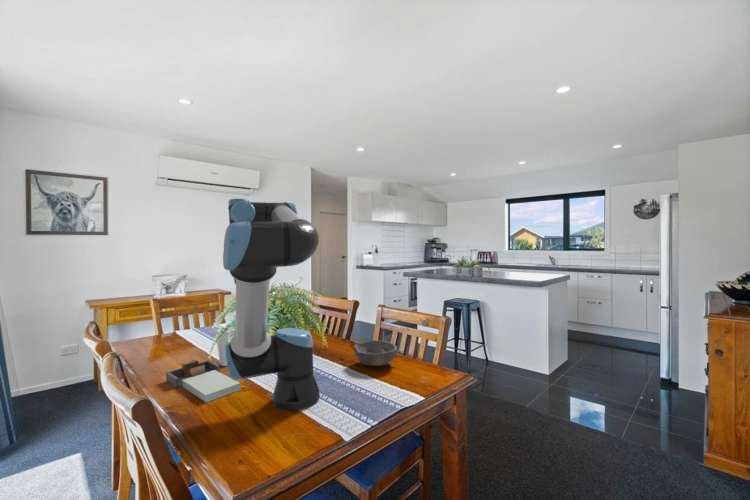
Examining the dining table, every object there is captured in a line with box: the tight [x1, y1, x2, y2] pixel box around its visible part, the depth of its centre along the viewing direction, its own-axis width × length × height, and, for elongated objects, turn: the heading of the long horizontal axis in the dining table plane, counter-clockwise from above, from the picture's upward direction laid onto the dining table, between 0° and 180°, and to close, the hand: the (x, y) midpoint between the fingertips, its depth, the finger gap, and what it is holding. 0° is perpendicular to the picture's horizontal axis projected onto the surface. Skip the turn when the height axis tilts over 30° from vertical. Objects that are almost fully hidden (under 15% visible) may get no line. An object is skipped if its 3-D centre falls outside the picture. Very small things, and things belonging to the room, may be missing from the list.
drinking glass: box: [216, 328, 229, 367], centre depth 151 cm, size 7×7×15 cm
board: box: [181, 370, 241, 403], centre depth 128 cm, size 20×12×2 cm, turn 49°
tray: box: [165, 359, 221, 389], centre depth 138 cm, size 10×16×4 cm, turn 139°
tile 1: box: [181, 359, 200, 378], centre depth 139 cm, size 5×5×3 cm
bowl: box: [353, 340, 398, 367], centre depth 147 cm, size 18×18×8 cm
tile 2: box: [186, 365, 206, 378], centre depth 136 cm, size 5×5×3 cm
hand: (243, 303), depth 133 cm, fingers closed
